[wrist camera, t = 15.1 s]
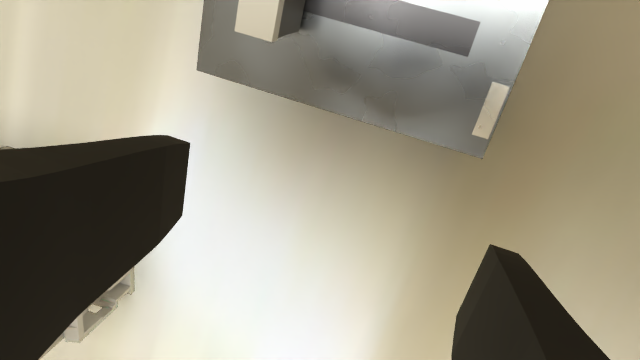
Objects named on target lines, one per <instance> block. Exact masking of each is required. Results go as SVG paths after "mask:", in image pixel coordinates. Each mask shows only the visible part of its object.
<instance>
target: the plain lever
mask: <svg viewBox="0 0 640 360" xmlns="http://www.w3.org/2000/svg"><path fill="white" fill-rule="evenodd" d="M304 4H305V0H239V2H238V9H237V17H236V24H235V31H236V32H239V33H243V34H246V35H249V36H253V37H256V38H260V39H263V40H267V41H270V42H274V41H277V40H278V38H279V37H282V36H286V35H289V34H292V33H295V32H299V30H300V25H301V20H302V15H303V10H304Z"/></svg>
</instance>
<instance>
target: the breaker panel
mask: <svg viewBox="0 0 640 360" xmlns="http://www.w3.org/2000/svg"><path fill="white" fill-rule="evenodd" d="M548 1H549V0H305V4H304V10H303V15H302V20H301V25H300V30H299V32H295V33H292V34H289V35H286V36H282V37H279V38H278V40H277V41H274V42H270V41H267V40H263V39H260V38H256V37H253V36H249V35H246V34H243V33H239V32H236V31H235V24H236V17H237V9H238V2H239V0H204V6H203V15H202V24H201V34H200V43H199V52H198V62H197V70H198V71H201V72H204V73H207V74H211V75H214V76H217V77H220V78H223V79H227V80H230V81H233V82H236V83H240V84H243V85H246V86H249V87H252V88H256V89H259V90H262V91H265V92H268V93H272V94H275V95H278V96H281V97H285V98H288V99H291V100H294V101H297V102H301V103H304V104H307V105H310V106H314V107H317V108H320V109H323V110H326V111H330V112H333V113H336V114H339V115H343V116H346V117H349V118H352V119H355V120H359V121H362V122H365V123H368V124H372V125H375V126H378V127H381V128H384V129H388V130H391V131H394V132H397V133H400V134H404V135H407V136H410V137H413V138H417V139H420V140H423V141H426V142H429V143H433V144H436V145H439V146H442V147H446V148H449V149H452V150H455V151H458V152H462V153H465V154H468V155H471V156H475V157H478V158H481V159H483V156H484V154H485V152H486V149H487V147H488V144H489V142H490V140H491V137H492V135H493V133H494V130H495V128H496V125H497V123H498V121H499V118H500V116H501V113H502V111H503V109H504V106H505V104H506V102H507V99H508V97H509V94H510V92H511V90H512V87H513V85H514V82H515V80H516V78H517V75H518V73H519V71H520V68H521V66H522V63H523V61H524V59H525V56H526V54H527V51H528V49H529V47H530V44H531V42H532V39H533V37H534V35H535V32H536V30H537V28H538V25H539V23H540V20H541V18H542V16H543V13H544V11H545V8H546V6H547V4H548Z"/></svg>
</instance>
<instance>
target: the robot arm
mask: <svg viewBox="0 0 640 360" xmlns="http://www.w3.org/2000/svg"><path fill="white" fill-rule="evenodd" d="M189 149H190V143H188V142H186V141H183V140H180V139H177V138H174V137H171V136H168V135H152V136H139V137H129V138H121V139H113V140H104V141H96V142H88V143H79V144H68V145H57V146H46V147H36V148H21V149H0V360H39V358H40V357H41V356H42V355H43V354H44V353H45V352H46V350H47V349H48V348H49V347H50V346H51V345H52V344H53V343H54V342H55V341H56V340H57V338H58V337H59V336H60V335H61V334H62V333H63V332H64V331H65V330H66V329H67V328H68V327H69V325H70V324H71V323H72V322H73V321H74V320H75V319H76V318H77V317H78V316H79V315H80V314H81V313H82V312H83V311H84V310H85V309H86V308H87V307H89V306H90V305H91V304H92V303H93V302H94V301H95V300H96V299H97V298H99V297H100V296H101V295H102V294H103V293H104V292H105V291H107V290H108V289H109V288H110V287H111V286H112V285H113V284H114V283H116V282H117V281H118V280H119V279H120V278H121V277H122V276H124V275H125V274H126V273H127V272H128V271H129V270H130V269H132V268H133V267H134V266H135V265H136V264H137V263H138V262H139V261H140V260H142V259H143V258H144V257H145V256H146V255H147V254H148V253H149V252H150V251H152V250H153V249H154V248H155V247H156V246H157V245H158V244H159V243H160V242H161V241H162V239H163V238H164V237H165V236H166V235H167V234H168V232H169V231H170V230H171V229H172V228H173V226H174V225H175V224H176V223H177V221H178V220H179V219H180V218H181V216H182V213H183V204H184V194H185V185H186V176H187V167H188V158H189ZM452 360H610V359H609V358H608V357H607V356H606V355H605V354H604V353H603V351H602V350H601V349H600V348H599V347H598V346H597V345H596V344H595V343H594V342H593V341H592V340H591V338H590V337H589V336H588V335H587V334H586V333H585V332H584V331H583V330H582V328H581V327H580V326H579V325H578V324H577V323H576V322H575V320H574V319H573V318H572V317H571V316H570V315H569V313H568V312H567V311H566V310H565V309H564V307H563V306H562V305H561V304H560V302H559V301H558V300H557V299H556V298H555V296H554V295H553V294H552V293H551V291H550V290H549V289H548V288H547V286H546V285H545V284H544V283H543V281H542V280H541V279H540V278H539V277H538V275H537V274H536V273H535V272H534V270H533V269H532V268H531V267H530V266H529V264H528V263H527V262H526V261H525V260H524V259H523V258H522V257H521V256H520V255H519V254H518V253H515V252H512V251H509V250H506V249H503V248H500V247H497V246H494V245H491V244H490V245H489V247H488V250H487V252H486V254H485V256H484V258H483V260H482V262H481V265H480V267H479V269H478V271H477V273H476V275H475V277H474V279H473V282H472V284H471V286H470V288H469V290H468V292H467V294H466V296H465V299H464V301H463V303H462V305H461V307H460V309H459V311H458V314H457V316H456V324H455V331H454V338H453V347H452Z"/></svg>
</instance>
